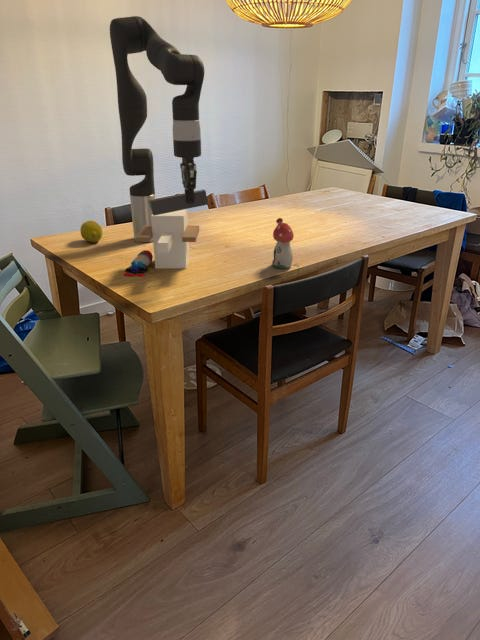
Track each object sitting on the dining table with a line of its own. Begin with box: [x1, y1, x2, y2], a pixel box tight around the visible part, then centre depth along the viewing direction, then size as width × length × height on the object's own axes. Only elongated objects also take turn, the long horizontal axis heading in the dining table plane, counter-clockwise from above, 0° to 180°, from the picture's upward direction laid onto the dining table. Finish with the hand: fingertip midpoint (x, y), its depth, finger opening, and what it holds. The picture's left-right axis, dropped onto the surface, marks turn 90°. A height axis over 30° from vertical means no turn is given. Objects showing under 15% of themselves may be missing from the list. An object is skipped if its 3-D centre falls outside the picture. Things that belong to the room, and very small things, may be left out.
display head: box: [135, 209, 200, 269], centre depth 149 cm, size 22×18×17 cm
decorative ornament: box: [271, 217, 294, 270], centre depth 153 cm, size 9×7×15 cm
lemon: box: [80, 220, 103, 244], centre depth 180 cm, size 11×8×8 cm
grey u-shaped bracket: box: [148, 189, 209, 216], centre depth 141 cm, size 13×16×4 cm
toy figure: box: [123, 249, 154, 278], centre depth 153 cm, size 8×5×15 cm
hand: (189, 202), depth 137 cm, fingers closed on grey u-shaped bracket, 2 cm apart
